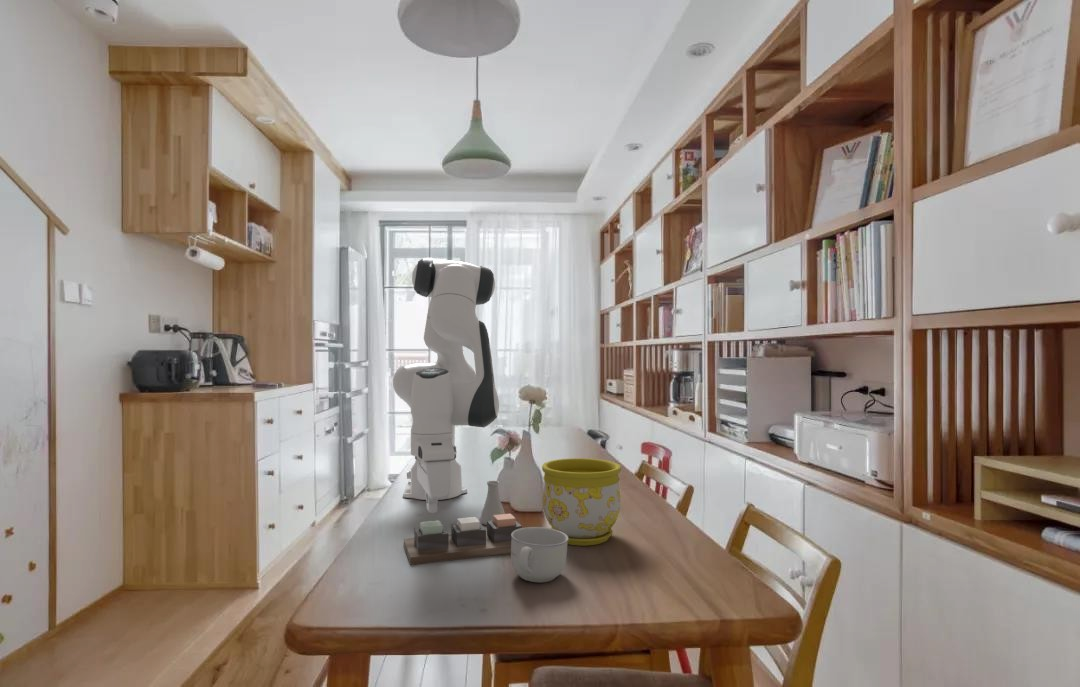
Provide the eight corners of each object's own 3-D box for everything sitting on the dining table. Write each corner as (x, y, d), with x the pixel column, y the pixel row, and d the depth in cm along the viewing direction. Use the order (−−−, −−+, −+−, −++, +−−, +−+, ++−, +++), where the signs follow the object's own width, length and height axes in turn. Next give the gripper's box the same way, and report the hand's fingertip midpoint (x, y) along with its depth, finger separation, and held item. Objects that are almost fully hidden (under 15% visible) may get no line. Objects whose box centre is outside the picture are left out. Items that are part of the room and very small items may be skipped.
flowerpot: (527, 542, 130) (527, 468, 130) (562, 521, 146) (562, 455, 146) (603, 555, 122) (603, 476, 122) (631, 532, 138) (631, 462, 138)
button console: (403, 545, 127) (403, 525, 127) (517, 533, 136) (517, 514, 136) (410, 564, 116) (410, 542, 116) (534, 550, 125) (534, 529, 125)
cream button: (457, 527, 127) (457, 518, 127) (475, 525, 129) (475, 516, 129) (461, 533, 124) (461, 523, 124) (479, 531, 125) (479, 521, 125)
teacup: (530, 562, 118) (530, 522, 118) (578, 573, 112) (578, 531, 112) (489, 586, 106) (489, 541, 106) (541, 599, 100) (541, 552, 100)
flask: (503, 527, 141) (503, 485, 141) (474, 525, 143) (474, 484, 143) (510, 518, 148) (510, 479, 148) (483, 517, 150) (483, 478, 150)
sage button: (420, 531, 125) (420, 522, 125) (439, 529, 126) (439, 520, 126) (422, 537, 121) (423, 527, 121) (442, 535, 122) (442, 525, 122)
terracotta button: (493, 524, 130) (493, 515, 130) (510, 522, 131) (510, 513, 131) (497, 529, 126) (497, 520, 126) (515, 527, 128) (515, 518, 128)
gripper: (410, 439, 132) (410, 500, 132) (423, 454, 113) (423, 525, 113) (438, 438, 135) (438, 498, 134) (456, 452, 115) (456, 522, 115)
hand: (431, 511), depth 123 cm, fingers closed
